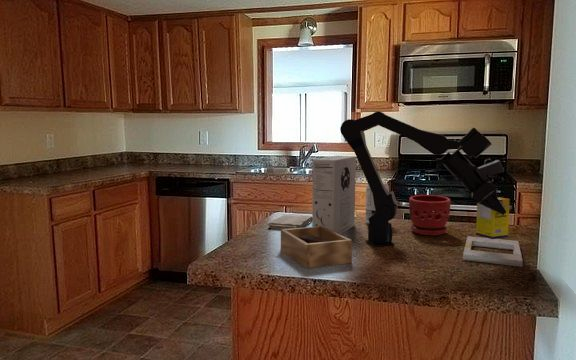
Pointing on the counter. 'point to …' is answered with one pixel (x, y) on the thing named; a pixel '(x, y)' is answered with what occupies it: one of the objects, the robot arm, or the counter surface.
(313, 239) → the brick
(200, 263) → the counter surface
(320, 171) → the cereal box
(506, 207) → the supplement box
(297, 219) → the washcloth
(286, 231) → the oak box
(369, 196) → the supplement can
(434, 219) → the plant pot
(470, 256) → the plate
